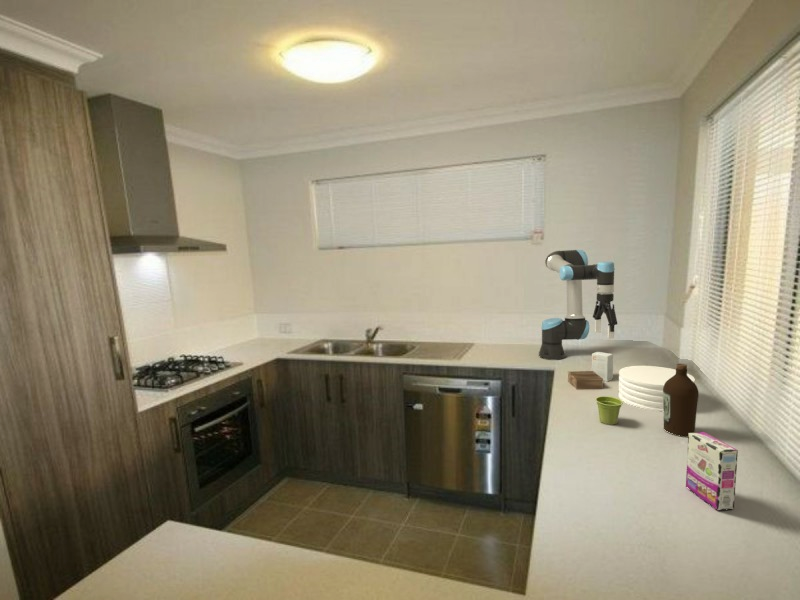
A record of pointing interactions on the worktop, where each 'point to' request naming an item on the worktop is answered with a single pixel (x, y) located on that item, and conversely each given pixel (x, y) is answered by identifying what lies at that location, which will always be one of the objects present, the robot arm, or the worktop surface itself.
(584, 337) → the robot arm
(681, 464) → the worktop surface
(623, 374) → the plate stack
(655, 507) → the worktop surface
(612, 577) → the worktop surface
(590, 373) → the block
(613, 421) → the plant pot
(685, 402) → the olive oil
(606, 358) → the small box
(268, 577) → the worktop surface
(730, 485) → the candy bar box
